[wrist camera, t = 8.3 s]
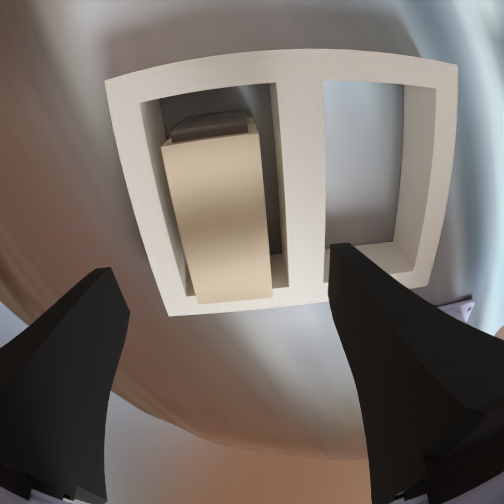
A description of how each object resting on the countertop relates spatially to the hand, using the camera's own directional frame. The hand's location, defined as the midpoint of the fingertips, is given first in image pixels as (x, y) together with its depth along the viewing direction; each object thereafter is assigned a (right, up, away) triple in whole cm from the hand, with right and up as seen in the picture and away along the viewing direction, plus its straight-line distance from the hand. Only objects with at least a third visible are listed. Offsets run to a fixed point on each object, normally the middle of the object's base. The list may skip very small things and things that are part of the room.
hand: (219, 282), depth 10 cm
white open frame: (+3, +6, +8) cm, 10 cm away
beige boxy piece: (0, +5, +8) cm, 10 cm away
